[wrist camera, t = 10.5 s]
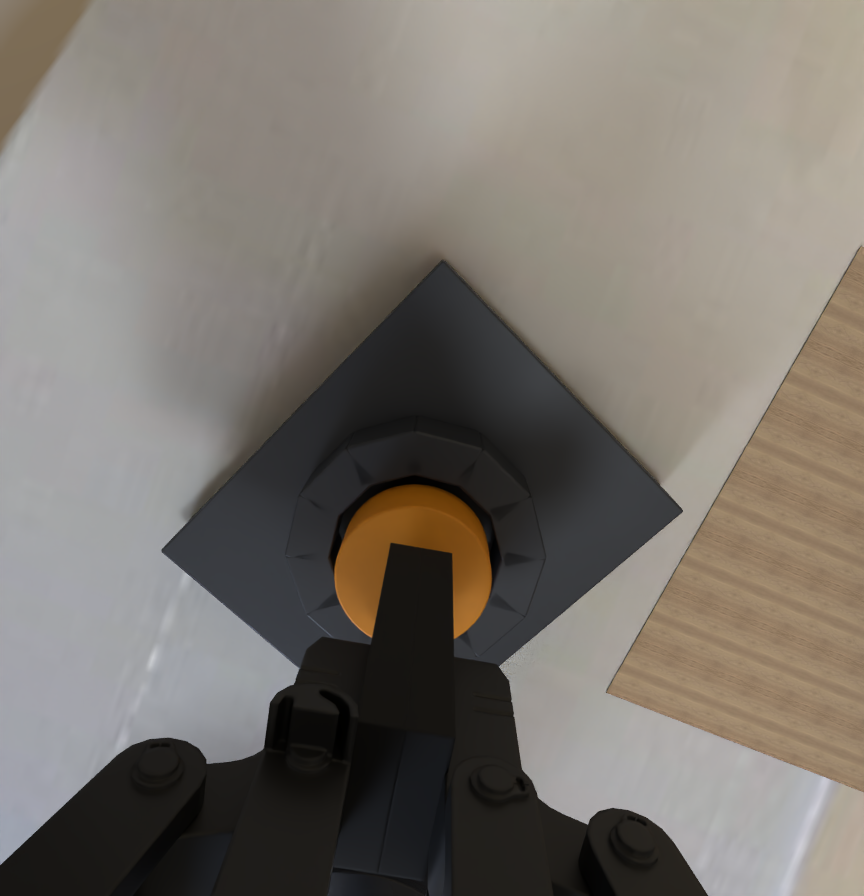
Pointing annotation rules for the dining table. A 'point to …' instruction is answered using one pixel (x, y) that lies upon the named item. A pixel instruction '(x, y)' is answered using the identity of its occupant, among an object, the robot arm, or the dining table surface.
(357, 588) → the button
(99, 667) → the dining table surface
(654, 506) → the switch box
